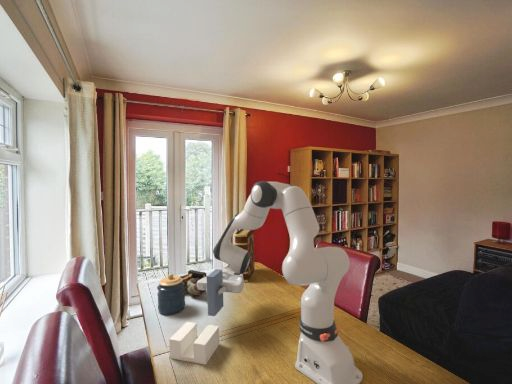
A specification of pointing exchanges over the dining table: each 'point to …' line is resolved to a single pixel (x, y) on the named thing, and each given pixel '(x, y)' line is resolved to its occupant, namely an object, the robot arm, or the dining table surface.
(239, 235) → the decorative book
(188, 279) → the bookend
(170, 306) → the canister
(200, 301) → the dining table surface
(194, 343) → the book stand
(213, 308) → the slim book
